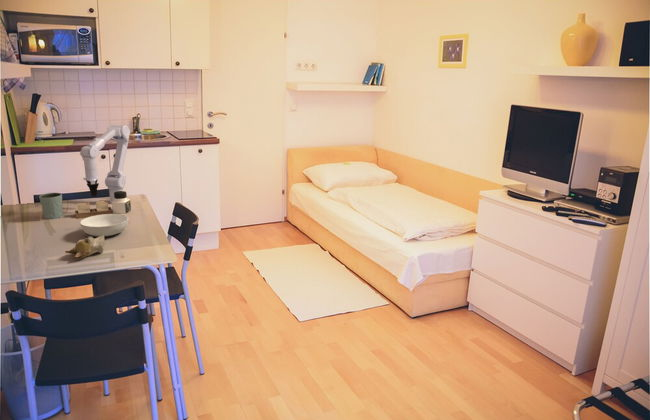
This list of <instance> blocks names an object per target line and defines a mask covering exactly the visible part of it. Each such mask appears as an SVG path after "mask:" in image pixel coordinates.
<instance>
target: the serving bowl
mask: <svg viewBox="0 0 650 420" xmlns="http://www.w3.org/2000/svg"><path fill="white" fill-rule="evenodd" d="M129 219H130V218H129V217H128V216H127V215H125V214H114V213H112V214H103V215H96V216H91V217H88V218H82V219H81V220H80V222H79V225H80V228H81V230H82V231H83V232H84V233H86V234H87V235H88V236H91V237H99V236H102V235H104V238H105V236H106V237H111V236H114V235H117V234H120V233H121V232H123V231H125V229H126V228H127V227H128V224H129Z"/></svg>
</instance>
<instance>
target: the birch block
mask: <svg viewBox="0 0 650 420" xmlns="http://www.w3.org/2000/svg"><path fill="white" fill-rule="evenodd" d="M76 205H77V210H78V214H79V213H88V212H90V209H91V207H90V202H80V203H76Z"/></svg>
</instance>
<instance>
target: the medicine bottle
mask: <svg viewBox="0 0 650 420" xmlns="http://www.w3.org/2000/svg"><path fill="white" fill-rule="evenodd" d="M114 198H115V200H114V201H113V202H112V203H111V209H112V214H121V215H125V214H128V213H129V212H130V211H132V207H131V199H130V198H128V196H127V191H125V190H123V191H116V192H114Z"/></svg>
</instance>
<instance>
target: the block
mask: <svg viewBox="0 0 650 420" xmlns="http://www.w3.org/2000/svg"><path fill="white" fill-rule="evenodd" d="M95 206H96V208H97V212H98V211H107V210H109V209H108V207H109V201H108V200H102V201H101V200H100V201H99V200H98V201H95ZM96 208H95V209H96Z"/></svg>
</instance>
